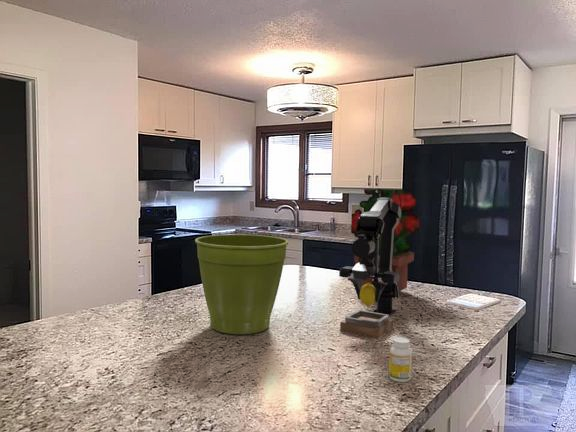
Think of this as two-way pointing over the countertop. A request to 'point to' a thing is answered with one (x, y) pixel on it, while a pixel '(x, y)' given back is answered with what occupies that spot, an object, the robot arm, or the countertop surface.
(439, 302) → the countertop surface
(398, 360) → the supplement bottle
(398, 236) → the potted plant
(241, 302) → the plant pot
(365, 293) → the lemon
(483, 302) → the calculator
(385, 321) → the display plinth
